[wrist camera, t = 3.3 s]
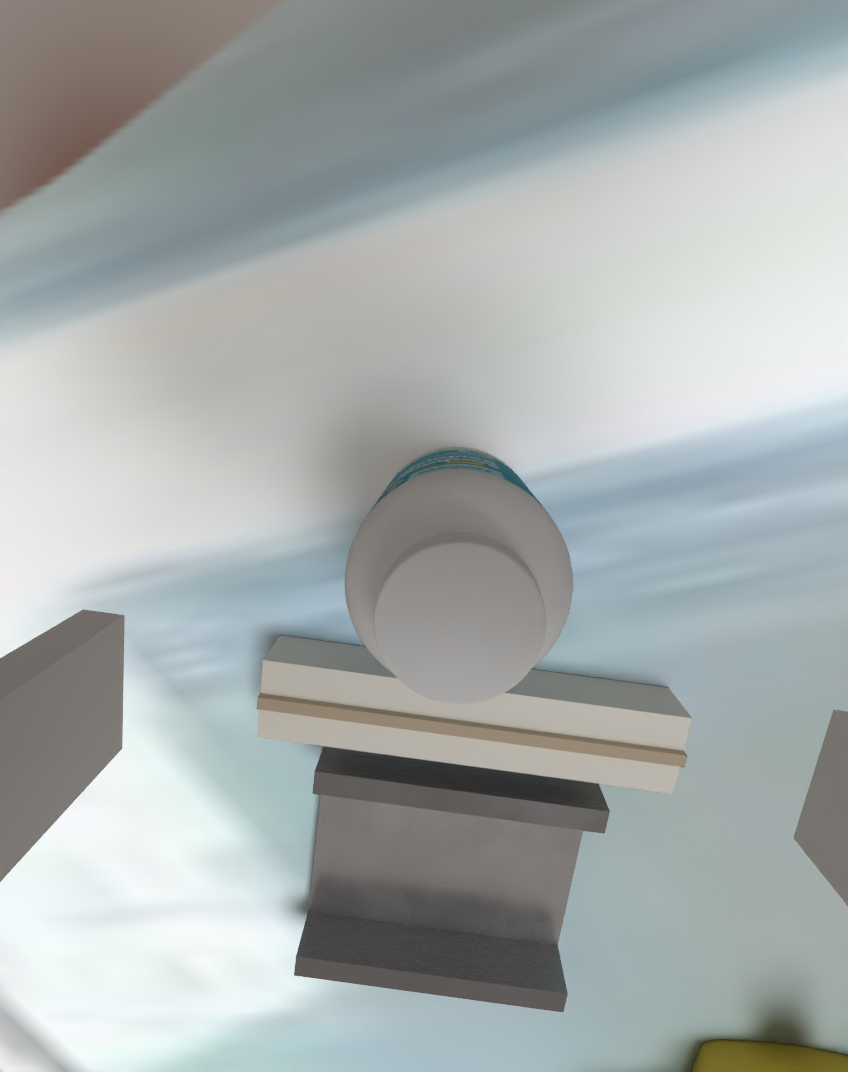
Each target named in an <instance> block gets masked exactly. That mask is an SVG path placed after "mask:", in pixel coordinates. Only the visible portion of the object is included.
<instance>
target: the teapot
mask: <svg viewBox="0 0 848 1072" xmlns="http://www.w3.org/2000/svg"><path fill="white" fill-rule="evenodd" d="M691 1072H848V1055H844V1054H839V1053H835V1052H830V1051H825V1050H820V1049H814V1048H809V1047H803V1046H797V1045H790V1044H782V1043H771V1042H756V1041H739V1040H712V1041H707V1042H704V1043H703V1044H702V1045H701V1047H700V1049H699V1051H698V1054H697V1056H696V1059H695V1062H694V1065H693V1068H692V1071H691Z"/></svg>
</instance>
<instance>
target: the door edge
mask: <svg viewBox="0 0 848 1072" xmlns="http://www.w3.org/2000/svg"><path fill="white" fill-rule="evenodd" d="M257 709H259V719H258V732H257V737H261V738H268V739H275V740H283V741H290V742H297V743H305V744H312V745H319V746H327V747H334V748H341V749H349V750H356V751H363V752H371V753H378V754H386V755H393V756H400V757H408V758H415V759H422V760H430V761H437V762H444V763H452V764H459V765H466V766H474V767H481V768H488V769H496V770H503V771H510V772H518V773H525V774H532V775H540V776H547V777H554V778H562V779H569V780H576V781H584V782H591V783H599V784H606V785H613V786H621V787H628V788H635V789H643V790H650V791H657V792H665V793H672V794H673V791H674V787H675V784H676V780H677V776H678V772H679V768H680V767H684V766H685V763H686V759H687V755H686V753H685V752H684V749H685V745H686V741H687V737H688V733H689V729H690V725H691V721H692V717H691V716H690V715H689V713H688V712H687V711H686V710H685V708H684V707H683V706H682V704H681V703H680V702H679V700H678V699H677V698H676V697H675V695H674V694H673V693H672V691H671V690H670V689H669V688H667V687H659V686H652V685H645V684H637V683H630V682H622V681H615V680H608V679H600V678H593V677H586V676H578V675H571V674H563V673H556V672H549V671H541V670H534V669H531V670H530V671H529V672H528V674H527V675H526V676H525V677H524V678H523V679H522V680H521V681H520V682H519V683H518V684H517V685H515V686H514V687H512V688H511V689H510V690H508V691H506V692H504V693H503V694H501V695H499V696H497V697H495V698H492V699H489V700H485V701H482V702H477V703H469V704H452V703H444V702H439V701H435V700H432V699H429V698H427V697H424V696H422V695H420V694H418V693H416V692H414V691H413V690H411V689H410V688H408V687H407V686H406V685H404V684H403V683H402V682H401V681H400V680H399V679H397V678H396V676H395V675H394V674H393V673H392V672H391V671H389V670H388V669H387V668H385V667H384V666H383V665H382V664H381V663H380V662H379V661H378V660H377V659H375V657H374V656H373V655H372V654H371V653H370V652H369V650H368V649H367V648H366V647H364V646H357V645H349V644H342V643H335V642H327V641H320V640H313V639H305V638H298V637H290V636H283V635H280V636H279V637H278V639H277V640H276V642H275V643H274V645H273V646H272V648H271V649H270V651H269V652H268V653H267V655H266V656H265V658H264V659H263V665H262V679H261V692H260V695H259V696H258V702H257Z"/></svg>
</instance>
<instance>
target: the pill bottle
mask: <svg viewBox="0 0 848 1072" xmlns="http://www.w3.org/2000/svg"><path fill="white" fill-rule="evenodd" d="M572 591H573V573H572V567H571V561H570V556H569V552H568V549H567V546H566V544H565V541H564V539H563V537H562V535H561V533H560V531H559V529H558V527H557V526H556V524H555V522H554V521H553V519H552V518H551V517H550V515H549V514H548V513H547V511H546V510H545V509H544V507H543V506H542V505H541V504H540V503H539V501H538V500H537V499H536V498H535V496H534V495H533V494H532V493H531V491H530V490H529V489H528V488H527V486H526V485H525V484H524V483H523V481H522V480H521V479H520V478H519V477H518V475H517V474H516V473H515V472H514V471H513V470H512V469H511V468H510V467H508V466H507V465H506V464H505V463H503V462H502V461H501V460H499V459H497V458H495V457H494V456H491V455H489V454H487V453H484V452H482V451H478V450H474V449H469V448H445V449H439V450H435V451H432V452H429V453H427V454H424V455H422V456H420V457H418V458H416V459H415V460H413V461H412V462H410V463H409V464H408V465H406V466H405V467H404V468H403V469H402V470H401V471H400V472H399V473H398V474H397V475H396V476H395V477H394V479H393V480H392V481H391V482H390V484H389V485H388V487H387V488H386V490H385V491H384V493H383V494H382V495H381V497H380V498H379V500H378V501H377V503H376V504H375V505H374V507H373V508H372V509H371V511H370V512H369V514H368V515H367V517H366V518H365V520H364V521H363V523H362V524H361V526H360V528H359V530H358V532H357V534H356V536H355V538H354V540H353V542H352V545H351V548H350V551H349V554H348V558H347V563H346V570H345V596H346V603H347V607H348V611H349V614H350V618H351V620H352V623H353V625H354V628H355V630H356V632H357V634H358V636H359V637H360V639H361V641H362V642H363V644H364V645H365V646H366V648H367V649H368V650H369V652H370V653H371V654H372V655H373V656H374V657H375V659H377V660H378V661H379V662H380V663H381V664H382V665H383V666H384V667H385V668H387V669H388V670H389V671H391V672H392V673H393V674H394V675H395V676H396V678H397V679H399V680H400V681H401V682H402V683H403V684H404V685H406V686H407V687H408V688H410V689H411V690H413V691H414V692H416V693H418V694H420V695H422V696H424V697H427V698H429V699H432V700H435V701H439V702H444V703H452V704H469V703H477V702H482V701H485V700H489V699H492V698H495V697H497V696H499V695H501V694H503V693H504V692H506V691H508V690H510V689H511V688H512V687H514V686H515V685H517V684H518V683H519V682H520V681H521V680H522V679H523V678H524V677H525V676H526V675H527V674H528V672H529V671H530V670H531V669H532V667H533V666H535V665H536V664H537V663H538V662H539V661H540V660H541V659H542V658H543V657H544V656H545V655H546V654H547V653H548V651H549V650H550V649H551V647H552V646H553V645H554V643H555V642H556V640H557V638H558V637H559V635H560V633H561V631H562V629H563V627H564V624H565V622H566V620H567V616H568V613H569V610H570V605H571V600H572Z"/></svg>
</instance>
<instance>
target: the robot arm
mask: <svg viewBox="0 0 848 1072" xmlns="http://www.w3.org/2000/svg"><path fill="white" fill-rule="evenodd" d="M123 670H124V615H119V614H112V613H104V612H97V611H89V610H82V611H80V612H78V613H77V614H75V615H73V616H72V617H70V618H68V619H66V620H65V621H63V622H61V623H60V624H58V625H56V626H55V627H53V628H51V629H49V630H48V631H46V632H44V633H43V634H41V635H39V636H38V637H36V638H34V639H33V640H31V641H29V642H27V643H26V644H24V645H22V646H21V647H19V648H17V649H16V650H14V651H12V652H10V653H9V654H7V655H5V656H4V657H2V658H0V881H1V880H2V879H3V878H4V877H5V876H6V875H7V874H8V873H9V872H10V871H11V869H12V868H13V867H14V866H15V865H16V864H17V863H18V862H19V861H20V860H21V859H22V857H23V856H24V855H25V854H26V853H27V852H28V851H29V850H30V849H31V848H32V846H33V845H34V844H35V843H36V842H37V841H38V840H39V839H40V838H41V837H42V836H43V834H44V833H45V832H46V831H47V830H48V829H49V828H50V827H51V826H52V825H53V823H54V822H55V821H56V820H57V819H58V818H59V817H60V816H61V815H62V814H63V813H64V811H65V810H66V809H67V808H68V807H69V806H70V805H71V804H72V803H73V802H74V800H75V799H76V798H77V797H78V796H79V795H80V794H81V793H82V792H83V791H84V790H85V788H86V787H87V786H88V785H89V784H90V783H91V782H92V781H93V780H94V779H95V777H96V776H97V775H98V774H99V773H100V772H101V771H102V770H103V769H104V768H105V767H106V765H107V764H108V763H109V762H110V761H111V760H112V759H113V758H114V757H115V756H116V754H117V753H118V752H119V751H120V750H121V749H122V726H123ZM794 839H795V840H796V842H797V843H798V844H799V845H800V847H801V848H802V849H803V850H804V852H805V853H806V854H807V855H808V857H809V858H810V859H811V860H812V862H813V863H814V864H815V865H816V867H817V868H818V869H819V870H820V872H821V873H822V874H823V875H824V877H825V878H826V879H827V880H828V882H829V883H830V884H831V885H832V887H833V888H834V889H835V891H836V892H837V893H838V894H839V896H840V897H841V898H842V899H843V901H844V902H845V903H846V904H847V906H848V712H847V711H840V710H833V713H832V716H831V719H830V723H829V726H828V729H827V732H826V735H825V739H824V742H823V745H822V748H821V751H820V755H819V758H818V761H817V764H816V767H815V771H814V774H813V777H812V780H811V783H810V787H809V790H808V793H807V796H806V799H805V803H804V806H803V809H802V812H801V815H800V819H799V822H798V825H797V828H796V831H795V835H794Z"/></svg>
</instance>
